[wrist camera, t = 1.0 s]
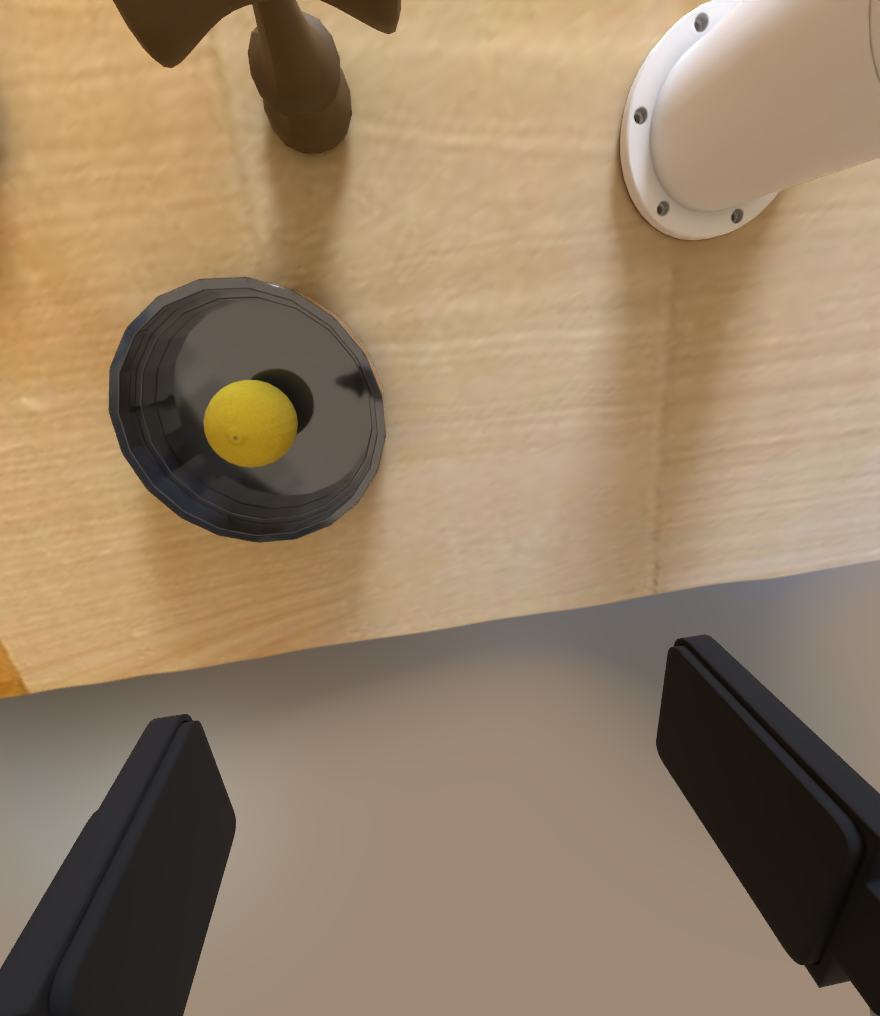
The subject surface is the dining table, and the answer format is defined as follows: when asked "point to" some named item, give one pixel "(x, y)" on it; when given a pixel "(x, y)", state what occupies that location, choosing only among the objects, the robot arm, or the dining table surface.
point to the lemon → (250, 423)
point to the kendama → (270, 56)
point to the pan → (235, 357)
